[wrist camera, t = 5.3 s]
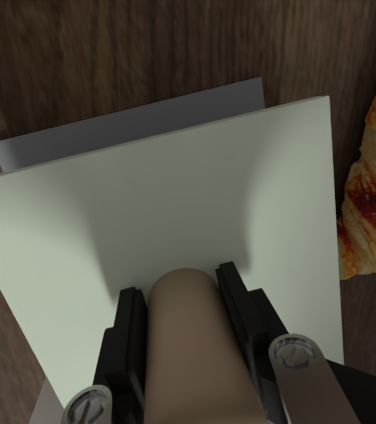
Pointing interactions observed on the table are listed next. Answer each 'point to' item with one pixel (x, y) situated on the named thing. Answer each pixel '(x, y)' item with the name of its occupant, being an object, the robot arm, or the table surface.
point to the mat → (132, 124)
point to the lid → (177, 253)
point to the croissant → (360, 209)
